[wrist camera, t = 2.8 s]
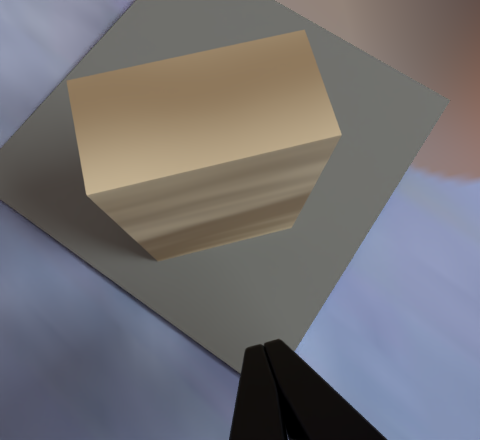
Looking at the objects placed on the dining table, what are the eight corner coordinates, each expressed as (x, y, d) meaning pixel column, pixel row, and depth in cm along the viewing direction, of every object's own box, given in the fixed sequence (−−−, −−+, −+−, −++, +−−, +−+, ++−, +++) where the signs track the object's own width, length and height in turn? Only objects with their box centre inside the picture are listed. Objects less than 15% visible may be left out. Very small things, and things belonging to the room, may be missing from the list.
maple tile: (291, 227, 18) (341, 134, 10) (158, 261, 18) (86, 195, 9) (271, 161, 19) (301, 21, 11) (143, 192, 19) (65, 71, 10)
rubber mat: (446, 104, 21) (449, 100, 20) (267, 392, 17) (268, 393, 17) (184, -45, 23) (183, -52, 22) (-23, 182, 19) (-28, 179, 19)
